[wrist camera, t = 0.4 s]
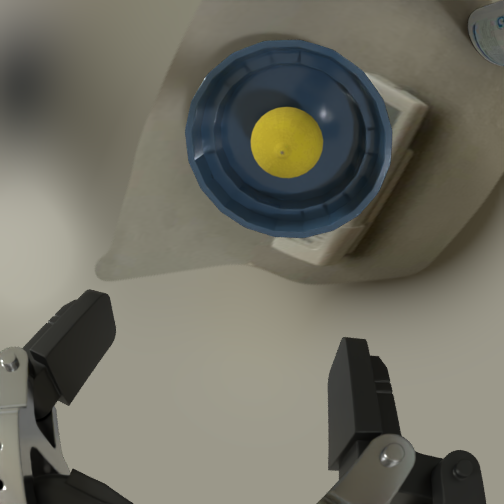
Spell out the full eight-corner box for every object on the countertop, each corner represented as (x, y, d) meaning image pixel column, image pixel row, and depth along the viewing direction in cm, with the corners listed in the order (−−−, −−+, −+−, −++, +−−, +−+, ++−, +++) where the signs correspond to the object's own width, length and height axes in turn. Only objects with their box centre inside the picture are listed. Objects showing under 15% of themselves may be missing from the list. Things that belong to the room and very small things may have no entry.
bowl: (305, 15, 20) (303, 1, 16) (410, 158, 25) (427, 173, 21) (173, 121, 28) (149, 129, 24) (275, 242, 33) (268, 268, 28)
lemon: (248, 137, 27) (224, 157, 20) (286, 92, 24) (275, 93, 17) (294, 175, 28) (287, 207, 21) (334, 132, 25) (342, 149, 18)
